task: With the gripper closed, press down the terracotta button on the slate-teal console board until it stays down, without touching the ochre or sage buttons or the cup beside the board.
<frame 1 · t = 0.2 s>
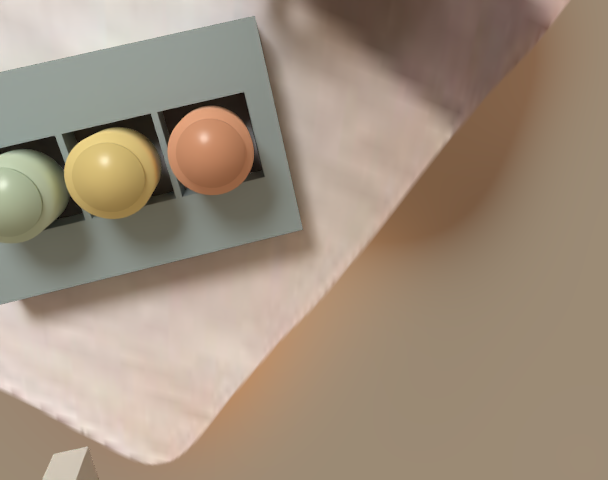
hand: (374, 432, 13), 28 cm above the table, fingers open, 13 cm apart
console: (127, 160, 37), on the table
button sage: (17, 195, 33), point 4 cm above the table, slide at 0.0 cm
button terracotta: (211, 149, 33), point 4 cm above the table, slide at 0.0 cm
button ochre: (115, 171, 33), point 4 cm above the table, slide at 0.0 cm
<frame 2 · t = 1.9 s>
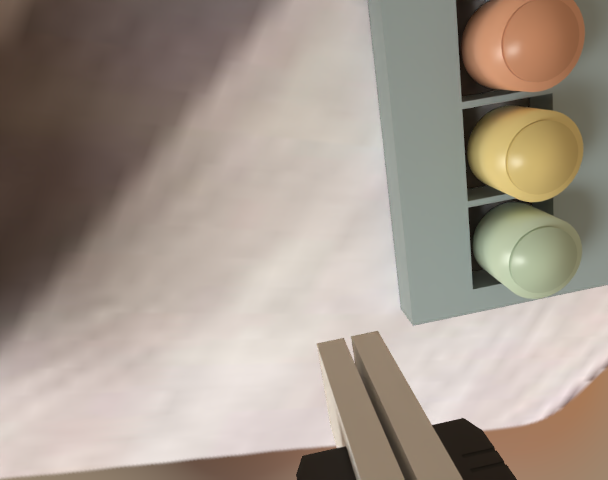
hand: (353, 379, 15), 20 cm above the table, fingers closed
console: (489, 142, 35), on the table
button sage: (525, 249, 33), point 4 cm above the table, slide at 0.0 cm
button terracotta: (521, 42, 29), point 4 cm above the table, slide at 0.0 cm
button ochre: (523, 152, 31), point 4 cm above the table, slide at 0.0 cm
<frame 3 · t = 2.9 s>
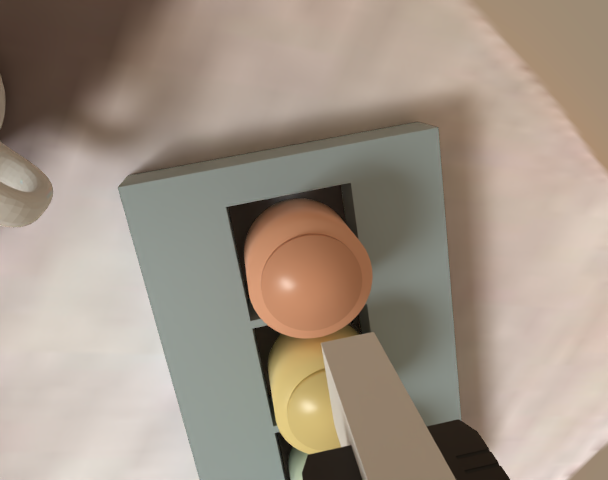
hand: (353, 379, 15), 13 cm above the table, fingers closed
console: (310, 341, 29), on the table
button terracotta: (304, 266, 23), point 4 cm above the table, slide at 0.0 cm
button ochre: (325, 385, 25), point 4 cm above the table, slide at 0.0 cm
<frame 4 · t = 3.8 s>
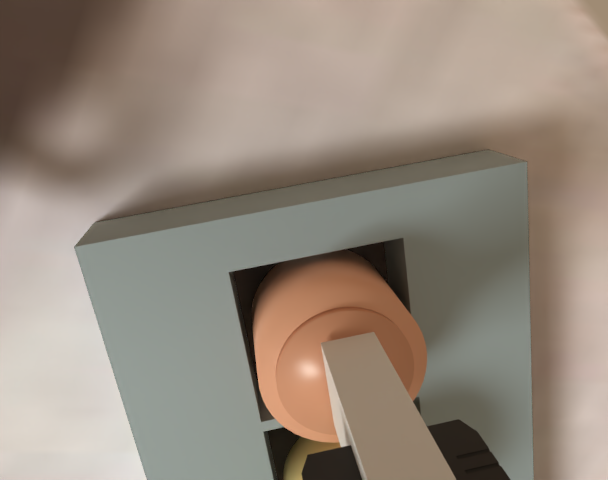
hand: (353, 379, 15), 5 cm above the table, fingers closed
console: (337, 432, 22), on the table
button terracotta: (332, 340, 17), point 3 cm above the table, slide at 1.1 cm, touching gripper
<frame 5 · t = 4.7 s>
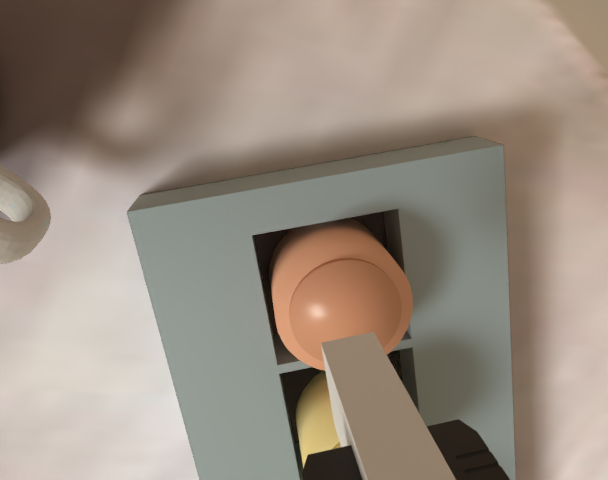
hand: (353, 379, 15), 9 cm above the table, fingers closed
console: (343, 383, 26), on the table
button terracotta: (336, 291, 21), point 3 cm above the table, slide at 1.5 cm
button ochre: (363, 442, 21), point 4 cm above the table, slide at 0.0 cm
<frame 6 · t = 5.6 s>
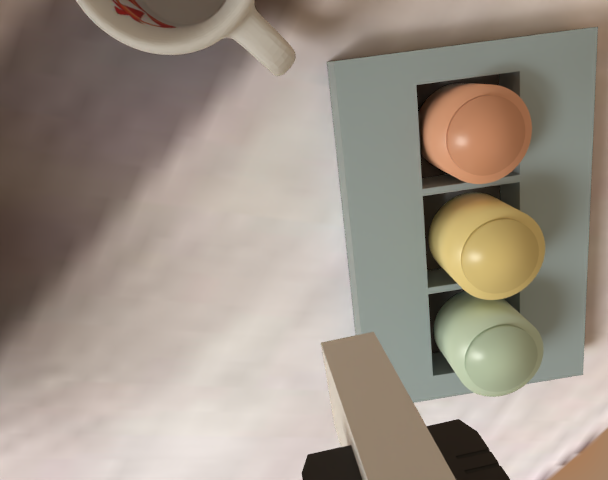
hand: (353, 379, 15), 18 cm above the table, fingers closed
console: (456, 223, 34), on the table
button sage: (486, 342, 31), point 4 cm above the table, slide at 0.0 cm
button terracotta: (471, 131, 29), point 3 cm above the table, slide at 1.5 cm
button ochre: (484, 245, 30), point 4 cm above the table, slide at 0.0 cm
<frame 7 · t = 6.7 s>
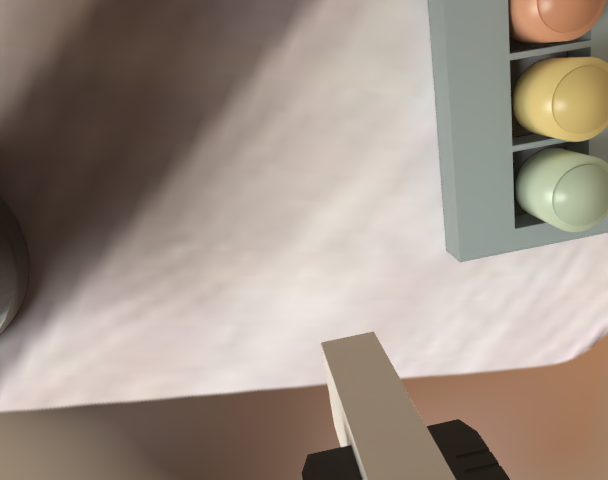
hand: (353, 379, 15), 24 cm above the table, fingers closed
console: (530, 95, 39), on the table
button sage: (565, 189, 36), point 4 cm above the table, slide at 0.0 cm
button terracotta: (551, 0, 34), point 3 cm above the table, slide at 1.5 cm
button ochre: (565, 98, 35), point 4 cm above the table, slide at 0.0 cm
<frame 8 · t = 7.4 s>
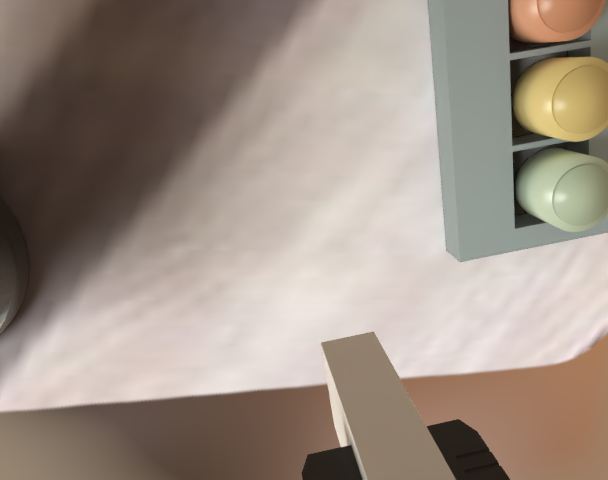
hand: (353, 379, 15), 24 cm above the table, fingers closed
console: (530, 95, 39), on the table
button sage: (565, 189, 36), point 4 cm above the table, slide at 0.0 cm
button terracotta: (551, 0, 34), point 3 cm above the table, slide at 1.5 cm
button ochre: (565, 98, 35), point 4 cm above the table, slide at 0.0 cm
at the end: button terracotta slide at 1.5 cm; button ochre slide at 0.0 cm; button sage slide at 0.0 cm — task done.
